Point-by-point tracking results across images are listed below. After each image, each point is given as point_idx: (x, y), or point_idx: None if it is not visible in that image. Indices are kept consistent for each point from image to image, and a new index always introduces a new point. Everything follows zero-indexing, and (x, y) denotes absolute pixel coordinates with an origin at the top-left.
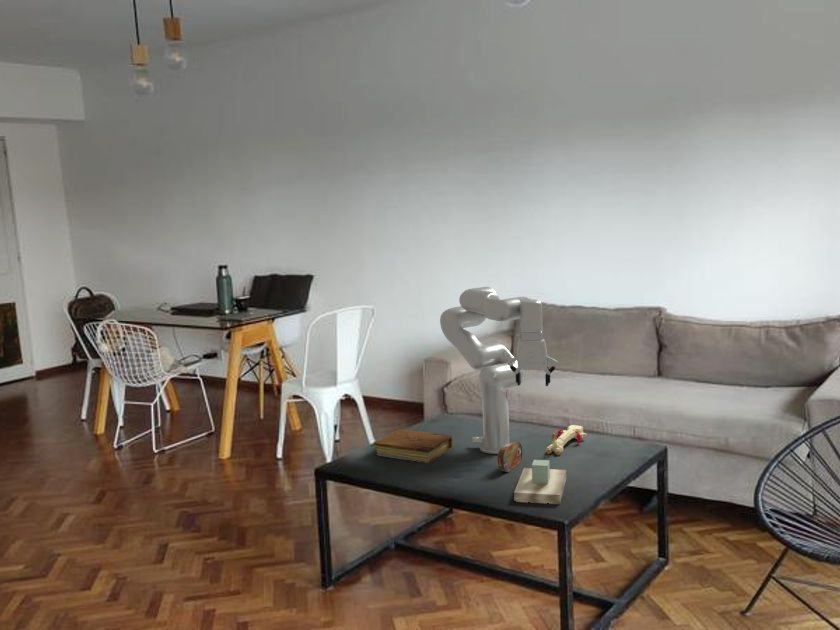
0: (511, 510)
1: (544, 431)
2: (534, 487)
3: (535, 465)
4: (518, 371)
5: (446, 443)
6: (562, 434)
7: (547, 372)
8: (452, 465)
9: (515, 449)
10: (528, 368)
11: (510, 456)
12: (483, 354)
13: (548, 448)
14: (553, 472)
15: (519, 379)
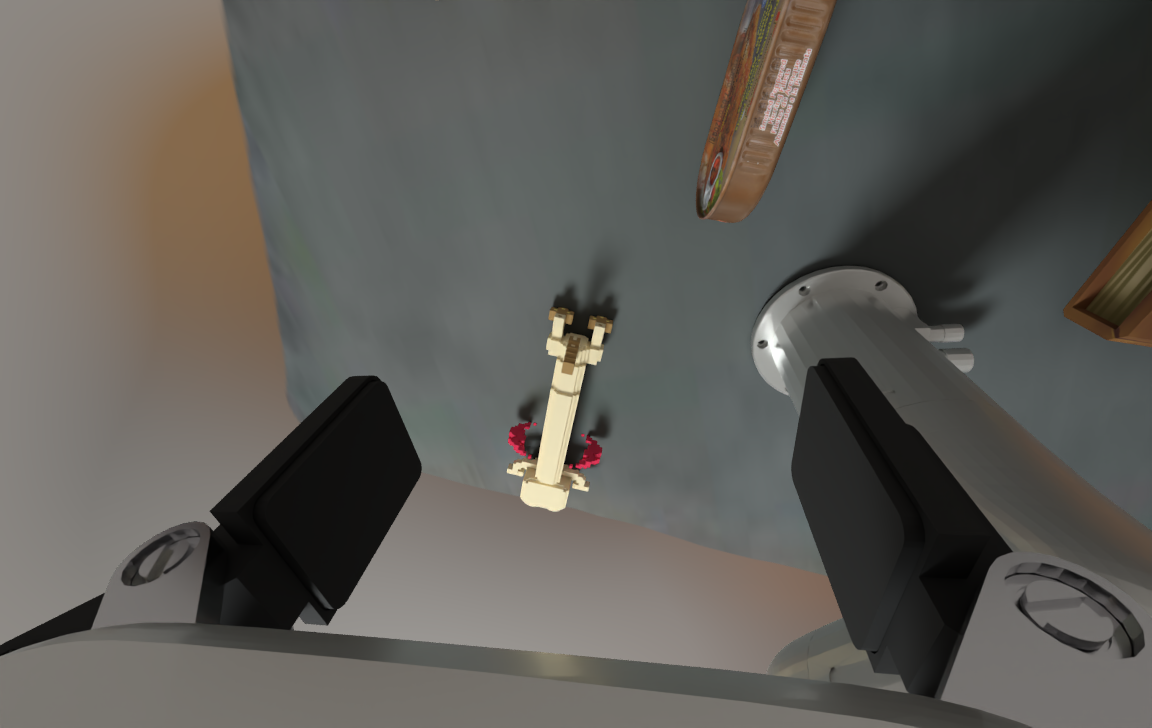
0: None
1: (661, 510)
2: None
3: None
4: (997, 642)
5: (1133, 294)
6: (563, 426)
7: (183, 575)
8: (1114, 26)
9: (730, 148)
10: (569, 718)
11: (751, 66)
12: None
13: (598, 324)
14: None
15: (851, 436)
